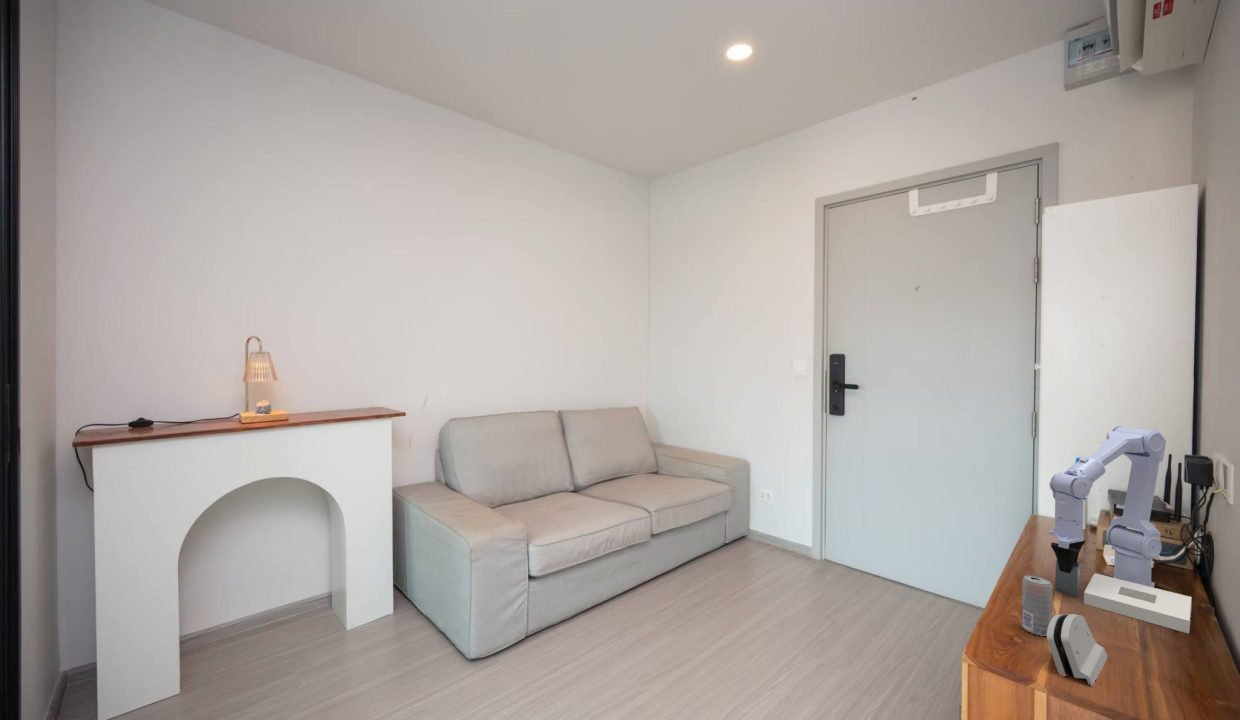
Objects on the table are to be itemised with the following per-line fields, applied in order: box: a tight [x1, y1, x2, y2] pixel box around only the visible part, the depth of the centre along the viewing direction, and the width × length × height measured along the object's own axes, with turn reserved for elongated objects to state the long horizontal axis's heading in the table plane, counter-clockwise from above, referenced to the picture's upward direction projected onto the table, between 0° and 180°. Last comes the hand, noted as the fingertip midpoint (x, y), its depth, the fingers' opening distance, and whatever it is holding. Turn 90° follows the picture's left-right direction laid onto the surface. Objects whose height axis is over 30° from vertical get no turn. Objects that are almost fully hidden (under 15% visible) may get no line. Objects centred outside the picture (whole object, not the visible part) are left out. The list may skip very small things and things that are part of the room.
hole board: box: [1083, 572, 1192, 634], centre depth 128 cm, size 18×18×3 cm
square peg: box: [1054, 560, 1081, 598], centre depth 136 cm, size 4×4×8 cm
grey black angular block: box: [1046, 613, 1109, 685], centre depth 104 cm, size 17×5×10 cm, turn 128°
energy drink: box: [1021, 574, 1053, 637], centre depth 116 cm, size 5×5×12 cm
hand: (1067, 568), depth 136 cm, fingers open, 7 cm apart
